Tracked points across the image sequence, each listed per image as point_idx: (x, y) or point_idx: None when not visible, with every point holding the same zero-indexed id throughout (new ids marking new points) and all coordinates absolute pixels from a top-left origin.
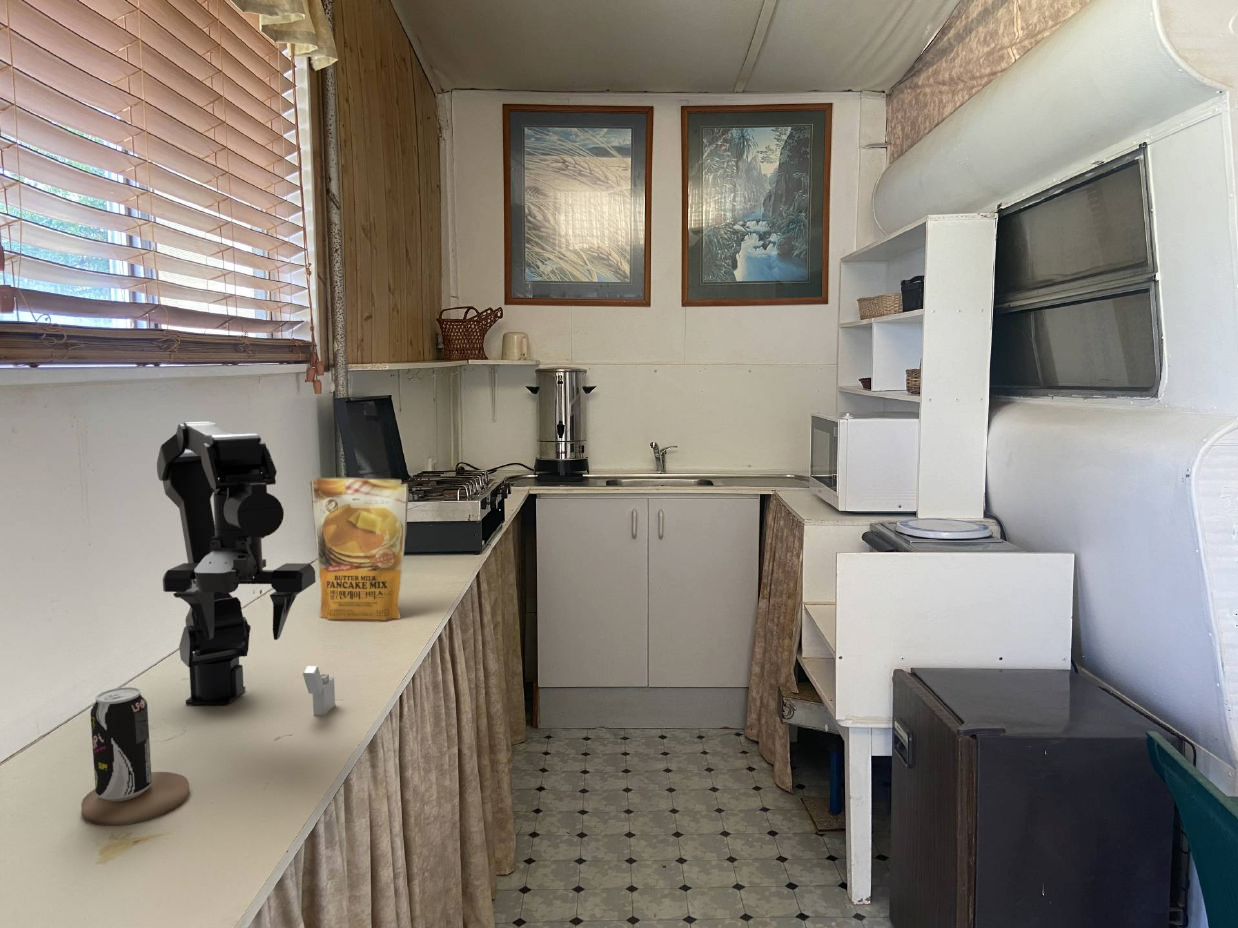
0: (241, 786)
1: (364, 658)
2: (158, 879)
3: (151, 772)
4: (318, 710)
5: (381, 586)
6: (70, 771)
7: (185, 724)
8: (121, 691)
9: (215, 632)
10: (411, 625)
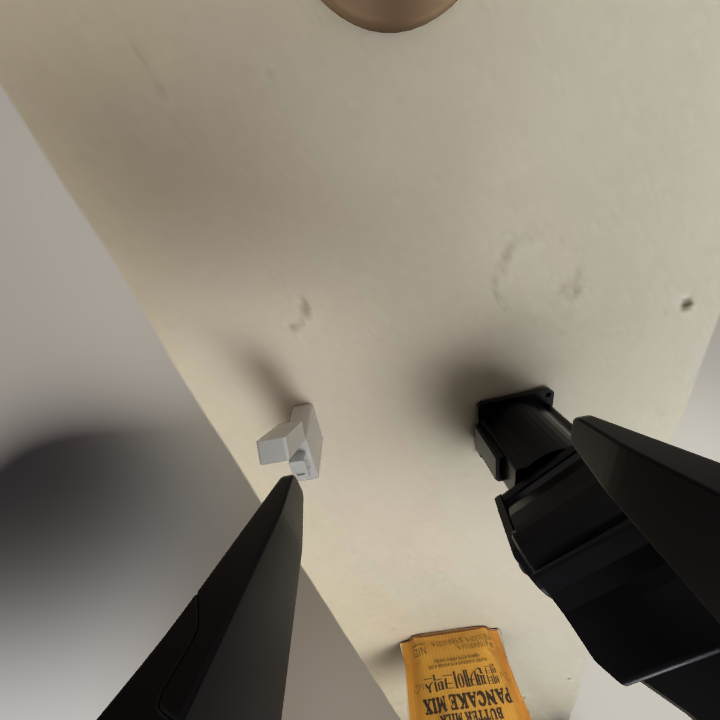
0: (199, 46)
1: (371, 563)
2: None
3: (437, 2)
4: (301, 410)
5: (430, 702)
6: (656, 17)
7: (510, 320)
8: None
9: (593, 517)
10: (375, 634)
